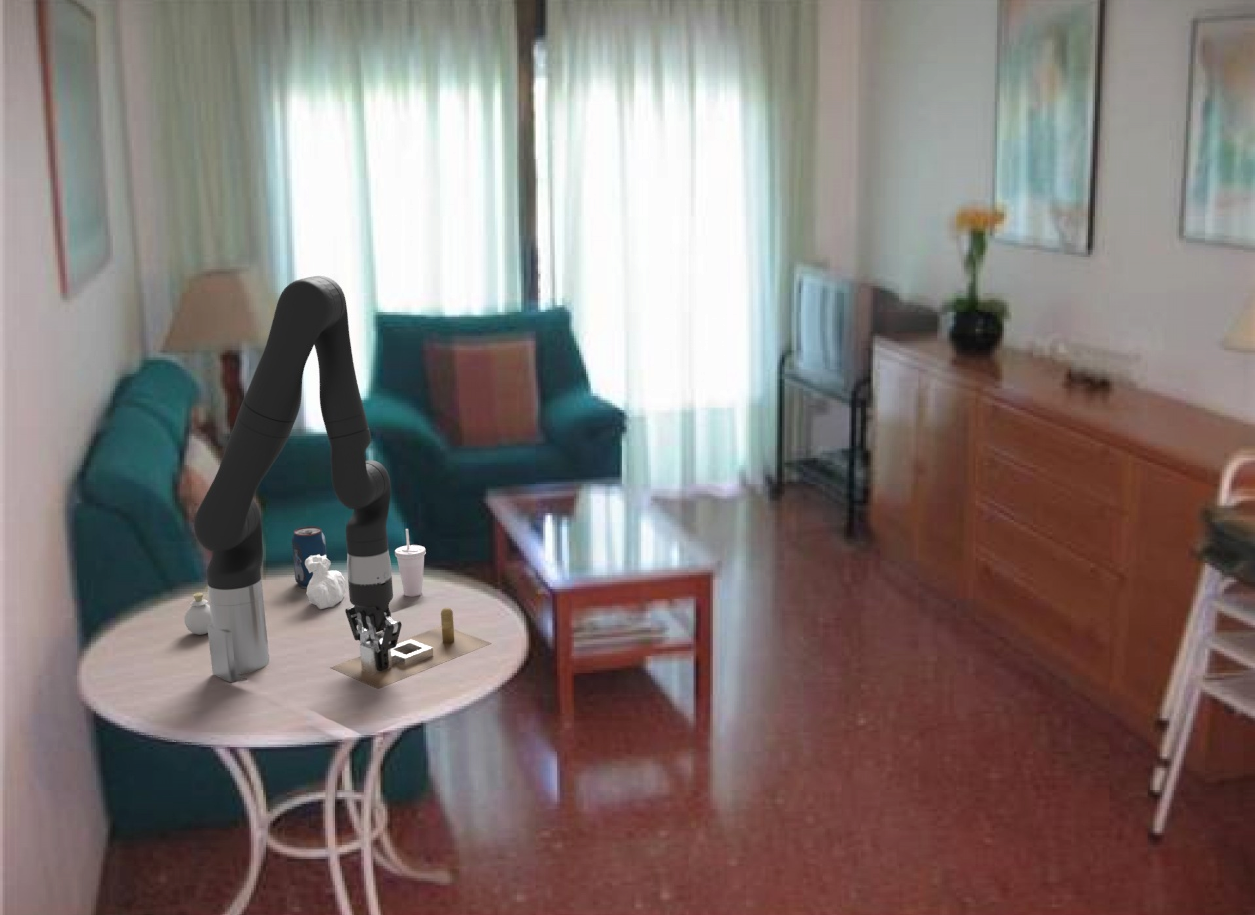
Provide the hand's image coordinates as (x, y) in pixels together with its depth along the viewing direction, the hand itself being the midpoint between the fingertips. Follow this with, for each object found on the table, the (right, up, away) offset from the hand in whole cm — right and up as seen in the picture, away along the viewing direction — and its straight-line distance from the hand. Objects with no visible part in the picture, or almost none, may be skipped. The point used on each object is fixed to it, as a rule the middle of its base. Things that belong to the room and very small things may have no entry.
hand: (376, 666), depth 230 cm
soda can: (-23, +10, +49) cm, 55 cm away
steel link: (+3, 0, +3) cm, 4 cm away
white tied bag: (-18, +7, +38) cm, 42 cm away
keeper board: (+5, 0, +6) cm, 8 cm away
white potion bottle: (-38, +3, +22) cm, 44 cm away
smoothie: (0, +8, +42) cm, 43 cm away
